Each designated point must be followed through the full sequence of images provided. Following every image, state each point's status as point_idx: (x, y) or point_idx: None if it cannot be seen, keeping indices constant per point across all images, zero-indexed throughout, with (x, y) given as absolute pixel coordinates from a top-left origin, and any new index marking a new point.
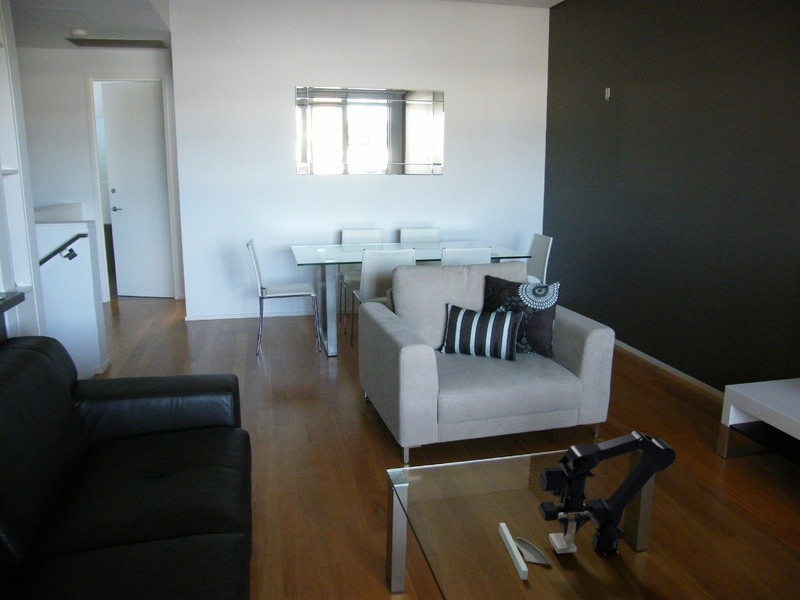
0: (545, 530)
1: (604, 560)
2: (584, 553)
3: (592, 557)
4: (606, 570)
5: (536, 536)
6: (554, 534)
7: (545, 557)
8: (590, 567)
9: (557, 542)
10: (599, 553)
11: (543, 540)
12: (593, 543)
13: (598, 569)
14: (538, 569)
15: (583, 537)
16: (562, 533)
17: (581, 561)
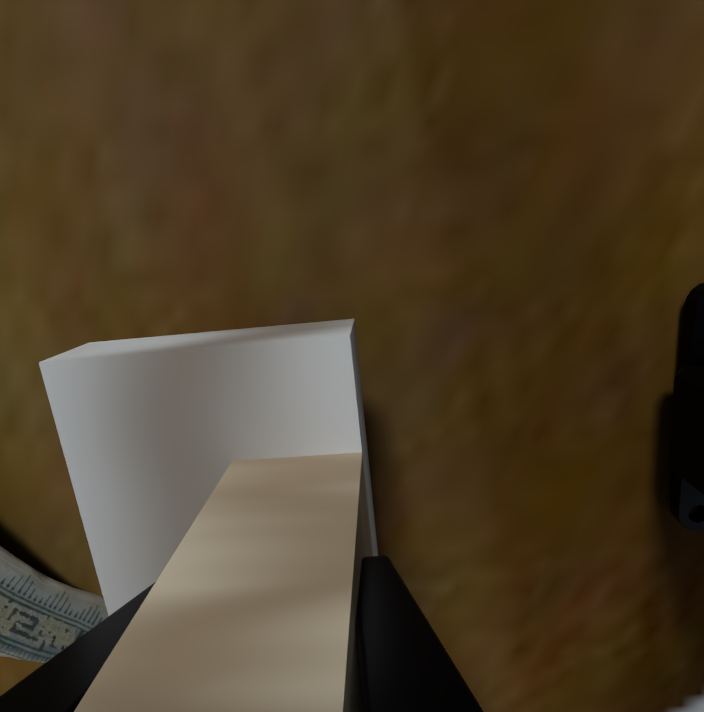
0: (150, 16)
1: (682, 572)
2: (513, 470)
3: (574, 529)
4: (625, 691)
5: (17, 165)
6: (120, 380)
7: (18, 656)
8: (488, 653)
9: (135, 558)
10: (682, 511)
11: (96, 246)
12: (697, 411)
13: (554, 678)
14: (5, 661)
15: (637, 170)
16: (257, 357)
17: (431, 580)
